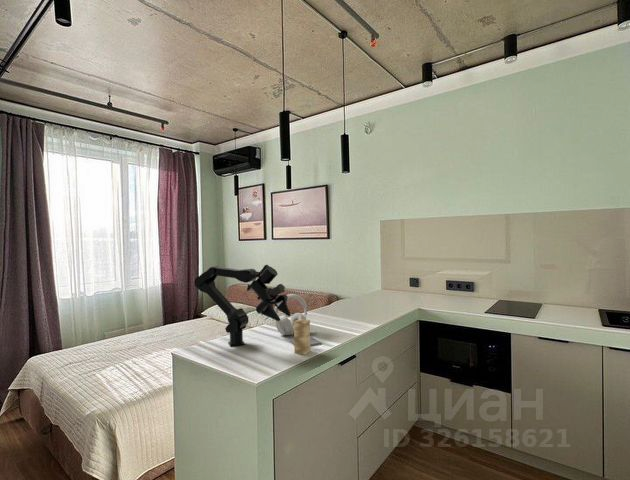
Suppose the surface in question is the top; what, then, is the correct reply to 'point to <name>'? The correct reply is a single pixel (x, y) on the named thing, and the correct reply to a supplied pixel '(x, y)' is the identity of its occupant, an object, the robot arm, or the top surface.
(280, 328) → the headphones
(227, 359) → the top surface
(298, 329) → the oak block
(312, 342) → the rubber mat
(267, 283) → the robot arm
